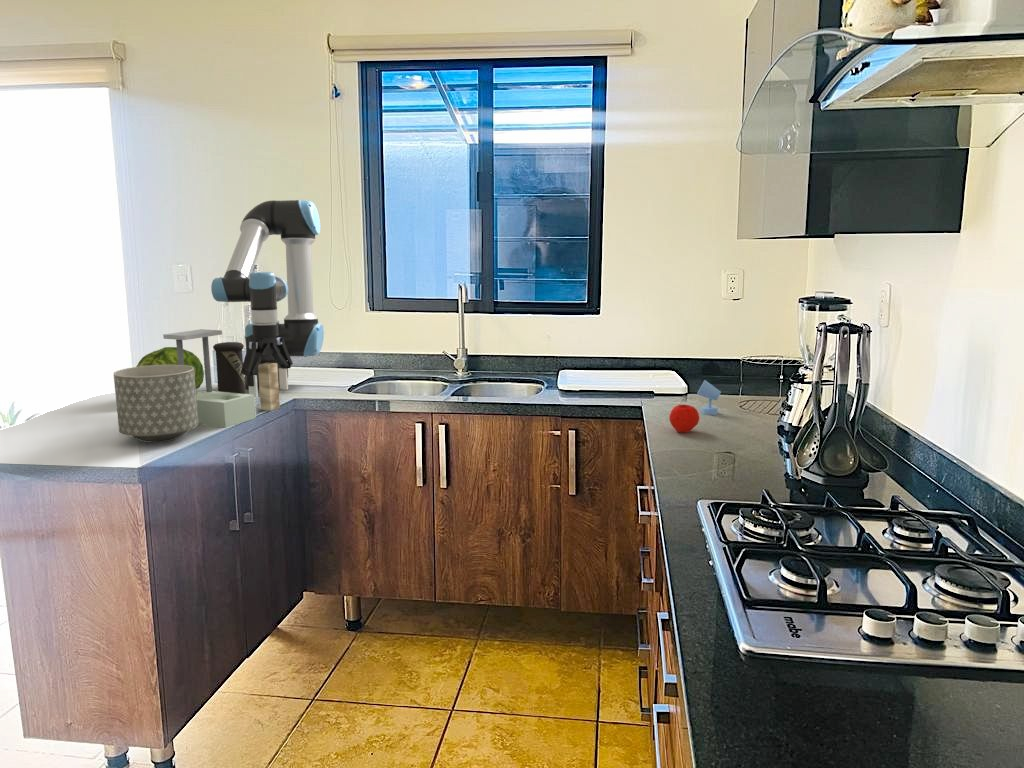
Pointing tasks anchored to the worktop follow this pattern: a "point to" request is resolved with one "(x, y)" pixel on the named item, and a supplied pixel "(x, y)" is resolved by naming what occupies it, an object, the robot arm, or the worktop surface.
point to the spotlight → (710, 393)
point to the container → (230, 367)
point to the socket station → (215, 404)
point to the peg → (268, 386)
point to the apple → (684, 418)
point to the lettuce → (174, 361)
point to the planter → (156, 401)
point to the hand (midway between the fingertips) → (269, 392)
